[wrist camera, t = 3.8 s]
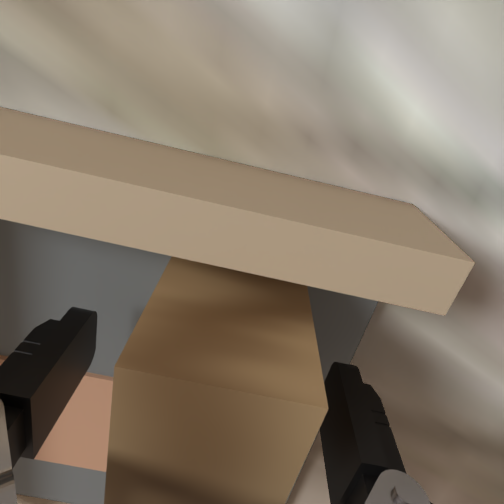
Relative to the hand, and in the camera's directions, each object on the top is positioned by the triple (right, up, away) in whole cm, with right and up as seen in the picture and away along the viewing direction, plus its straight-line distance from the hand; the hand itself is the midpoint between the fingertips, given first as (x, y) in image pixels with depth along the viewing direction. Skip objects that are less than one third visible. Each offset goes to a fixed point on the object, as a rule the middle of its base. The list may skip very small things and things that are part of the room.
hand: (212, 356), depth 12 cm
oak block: (0, +1, +1) cm, 2 cm away
